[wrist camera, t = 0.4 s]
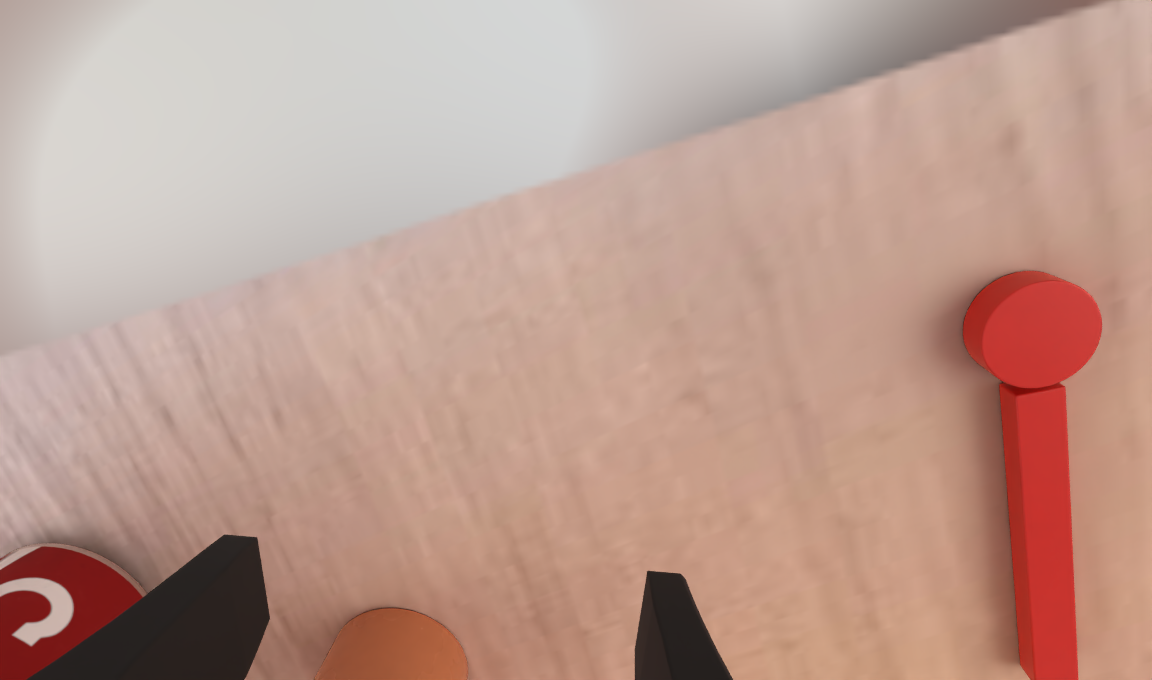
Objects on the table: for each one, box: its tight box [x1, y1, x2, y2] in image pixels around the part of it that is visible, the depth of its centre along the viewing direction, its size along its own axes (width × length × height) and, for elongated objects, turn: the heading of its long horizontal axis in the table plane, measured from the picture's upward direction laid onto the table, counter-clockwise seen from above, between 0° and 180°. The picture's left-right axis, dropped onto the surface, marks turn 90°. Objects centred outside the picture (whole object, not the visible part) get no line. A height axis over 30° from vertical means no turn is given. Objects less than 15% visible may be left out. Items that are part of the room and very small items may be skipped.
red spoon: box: [963, 271, 1102, 680], centre depth 22 cm, size 14×3×1 cm, turn 14°
